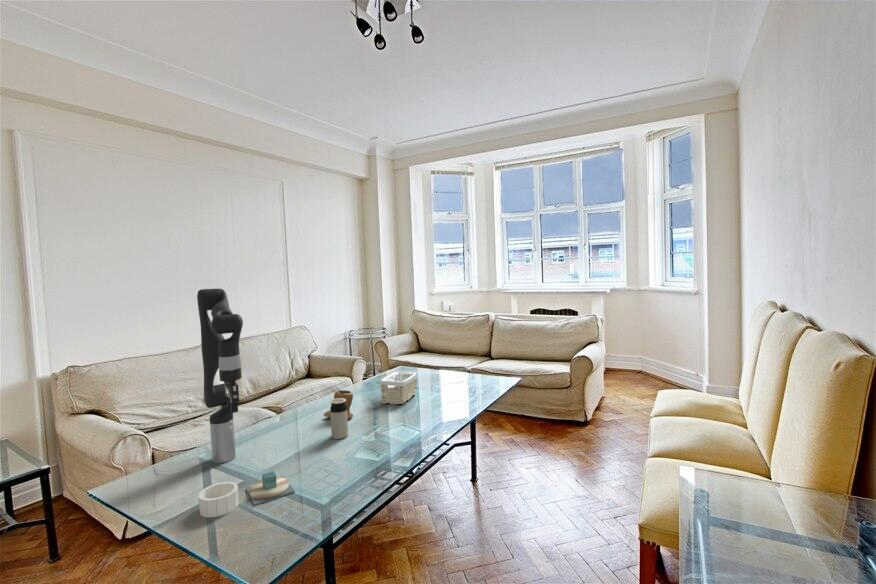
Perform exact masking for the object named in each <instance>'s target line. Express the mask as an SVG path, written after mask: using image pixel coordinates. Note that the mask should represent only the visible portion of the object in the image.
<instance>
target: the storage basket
mask: <svg viewBox="0 0 876 584" xmlns="http://www.w3.org/2000/svg"><path fill="white" fill-rule="evenodd" d="M403 377H405V378H404V379H403ZM417 381H418V372H411V371H395V372H393V373H391V374H389V375H387V376H384V377H383V378H382V379H380V381H379V387H380V394H381V402H382V404H386V403H390V404H389V405H397V404H403V403H404V404H406V403H407V402H408V401H409V400H411V399H412V398H413V397H414V396H413V395H415V393H417ZM412 396H413V397H412ZM415 396H416V395H415ZM411 397H412V398H411ZM410 398H411V399H410ZM407 400H408V401H407ZM406 401H407V402H406ZM405 402H406V403H405ZM404 404H403V405H404Z"/></svg>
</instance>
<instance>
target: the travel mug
mask: <svg viewBox="0 0 876 584" xmlns="http://www.w3.org/2000/svg"><path fill="white" fill-rule="evenodd" d="M345 402H346V399H344V398H337V399H334V398H333V399H331V400H330V402H329V403H331V404H330V405H331V406H330V407H329V408H330V409H329V411H330V414H331V418H330V432H331V438H332V439H335V440H342V438H343V439H345V438H347V437H348V436H349V428H348V427H349V426H348V422H349V421H348V420H349V419H347V405H346V404H345Z"/></svg>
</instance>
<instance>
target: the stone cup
mask: <svg viewBox="0 0 876 584" xmlns="http://www.w3.org/2000/svg"><path fill="white" fill-rule="evenodd" d="M337 398H344V399H346V402H345V404H346V405H347V419H348V420H349V419H352V418H353V417H354V414H353V413H352V412H351V410H350V409H351V405H352V403H353V399H354V394H353V392H352V391H351V390H345V389H343V390H342V389H337V390H336V391H335V392H334V396H333V399H337ZM323 416H324V417H326V418H328V419H329V418H330V419H331V414H330V410H328V411H326V412H324V413H323Z"/></svg>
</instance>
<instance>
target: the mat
mask: <svg viewBox="0 0 876 584" xmlns="http://www.w3.org/2000/svg"><path fill="white" fill-rule="evenodd" d="M281 477H282V478H286V477H285V476H281ZM252 486H253V485H250V486H247V487H245V490H246V492H247V495H248V496H249V498H250V500H251V501H252V504H253V506H254V507H255V506H258V505H260V504H265V503H268V502H271V501H272V500H276V499H279V498H282V497H283V498H284V497H285V496H288V494H289V495H290V493H292V494H294V493H295V492H296V490H295V489H294V488H293V486H292V485H291V484H290V483H289V488H288V489H287V490H286V491H285V492H284V493H282V494H281V495H279V496H276V497H273V498H269V499H255V498H253V497H251V496H250V488H251V487H252ZM293 492H294V493H293Z"/></svg>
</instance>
